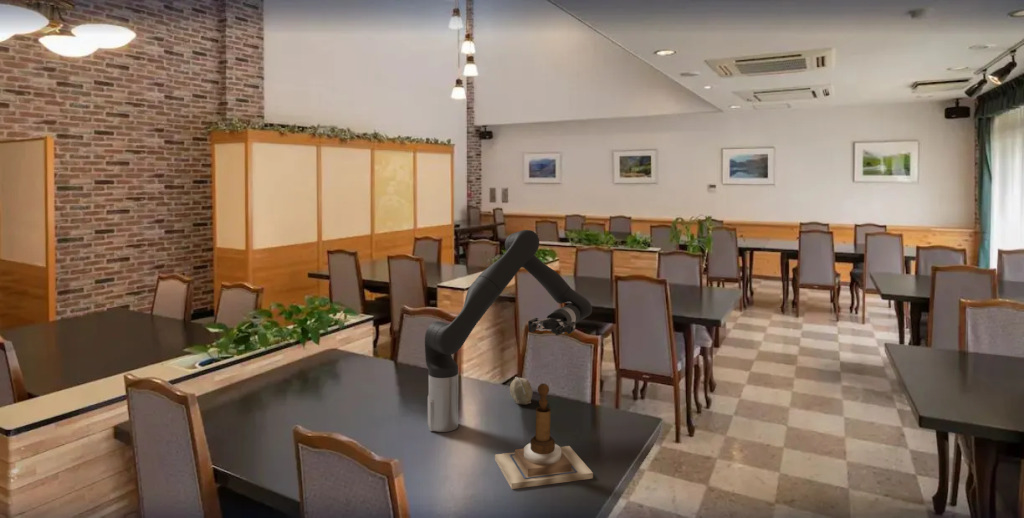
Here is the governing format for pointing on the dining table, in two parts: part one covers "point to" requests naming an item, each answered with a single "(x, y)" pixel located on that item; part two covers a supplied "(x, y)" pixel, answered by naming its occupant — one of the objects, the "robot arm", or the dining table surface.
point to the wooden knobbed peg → (543, 425)
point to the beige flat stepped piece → (542, 467)
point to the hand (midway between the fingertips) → (543, 330)
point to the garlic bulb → (521, 391)
